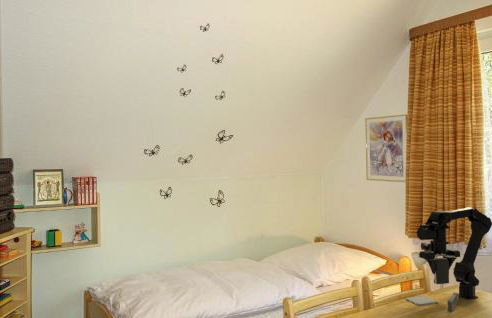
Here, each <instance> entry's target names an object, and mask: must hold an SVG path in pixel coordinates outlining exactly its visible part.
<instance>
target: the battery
mask: <svg viewBox="0 0 492 318" xmlns="http://www.w3.org/2000/svg"><path fill="white" fill-rule="evenodd" d="M435 259H436V260H437V265H436V271H435V274H433V275H434V279H433V283H434V284H436V285H446V284H449V283H450V269H449V261H448V259H446V258H443V257H435Z"/></svg>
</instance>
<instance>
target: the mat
mask: <svg viewBox="0 0 492 318" xmlns="http://www.w3.org/2000/svg"><path fill="white" fill-rule="evenodd" d="M404 299H405V301H407V300H409V301H411V302H410V303H412V302H413V303H412V304H414V303H416V304H418V305H417V306H419V305H421V306H427V304H428V305H434V304H433V303H436V304H438V301H436V300H433V299H431V298H428V297H426V296H423V295H422V296H415V297H413V296H412V297H406V298H404ZM409 301H408V302H409ZM416 304H415V305H416Z"/></svg>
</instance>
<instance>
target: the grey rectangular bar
mask: <svg viewBox="0 0 492 318" xmlns="http://www.w3.org/2000/svg"><path fill="white" fill-rule="evenodd" d="M458 294H459V292H452V294H451V296H450V297H449V298H448V300H447V312H453V311H454V309H455V308H456V306H457V304H459V296H458Z"/></svg>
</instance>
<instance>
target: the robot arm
mask: <svg viewBox="0 0 492 318" xmlns="http://www.w3.org/2000/svg"><path fill="white" fill-rule="evenodd" d="M464 218H465V219H466V218H467V220H468V222H470V230H471V234H470V237H469V240H468V243H467V246H466V248H465V251H464V253H463V254H464V255H463V258H462V259H461V261H456V260H457V259H458V258H461V252H460V250H457V249H453V248H447V247H448V246H447V245H449V241H448V240H447V230H450V229H451V227H450V226H449V225H448V224H449V223H451V222H452V221H453V220H454V221H455V220H459V219H464ZM491 228H492V219H491V218H490V217H488V216H487V215H486V214H484V213H483V212H481V211H479V210H478V209H477V208H475V207H469V206H468V207H467V206H466V207H465V208H459V209H453V210H449V211H448V210H447V211H444V210H443V211H442V210H433V211H431V213H430V214H429V216H428V219H426V222H425V223H424V224H419V227H418V228H417V230H416V236H417V238H418V239H419V240H420V241H429V240H430V243H427V242H421V243H420V249H421V251H419V253H418V257H419V258H420V259H423V260H425V261H426V262H427V264H428V266H429V268H430V271H431V273H432V275H434V274H435V271H436V265H437V260H436V259H435V258H438V257H442V258H446V259H448V261H449V270H450V269H451V267H452V265H453V263H454V262H455V261H456V262H455V264H454V267H453V271H452V272H453V276H454V278H455V281H456V282H457V283H458V284H459V287H458V297H460V298H464V299H466V300H472V299H473V300H474V299H478V298H479V296H477V295H476V287H477V286H479V284H480V280H479V279H478V278H477V277H476V276H475V274H476V269H475V265H474V264H475V262H476V260H477V256H478V253H479V251H480V247H481V244H482V241H483V238H484V236H485V235H486V234H488V233H489V232H490V230H491Z"/></svg>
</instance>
